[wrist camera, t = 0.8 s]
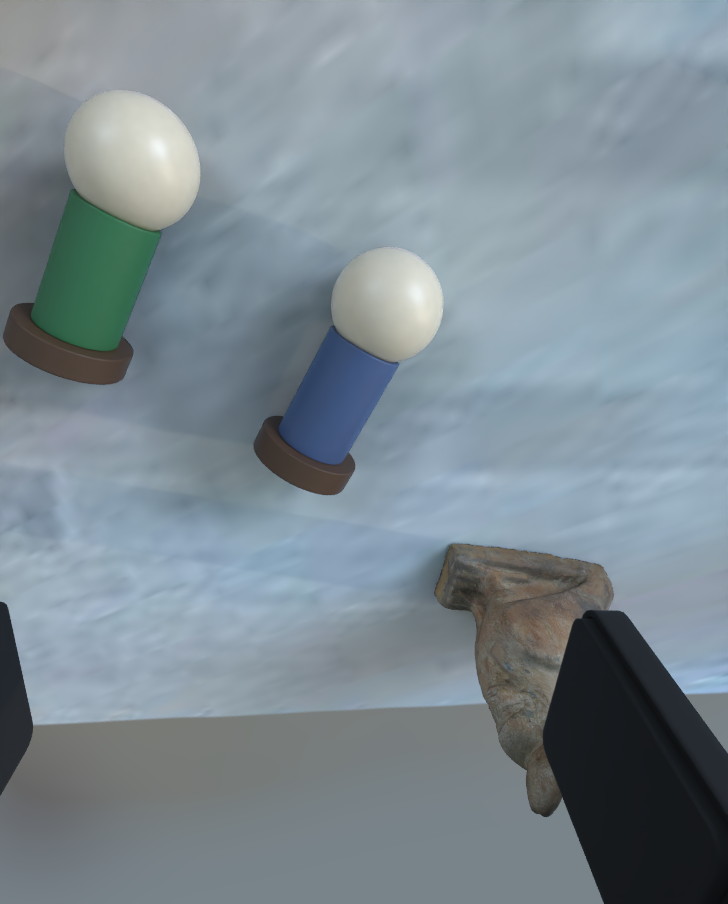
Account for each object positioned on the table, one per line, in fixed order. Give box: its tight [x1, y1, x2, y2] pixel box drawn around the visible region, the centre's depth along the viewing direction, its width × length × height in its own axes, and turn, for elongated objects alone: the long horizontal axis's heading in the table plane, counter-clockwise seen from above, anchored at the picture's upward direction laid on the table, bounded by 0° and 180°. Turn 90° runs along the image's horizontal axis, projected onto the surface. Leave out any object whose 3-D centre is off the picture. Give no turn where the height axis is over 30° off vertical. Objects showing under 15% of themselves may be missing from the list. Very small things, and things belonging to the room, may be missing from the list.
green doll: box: [3, 90, 201, 385], centre depth 26 cm, size 13×6×6 cm, turn 151°
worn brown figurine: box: [434, 544, 614, 817], centre depth 31 cm, size 12×6×18 cm, turn 73°
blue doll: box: [253, 247, 443, 495], centre depth 29 cm, size 13×6×6 cm, turn 151°
